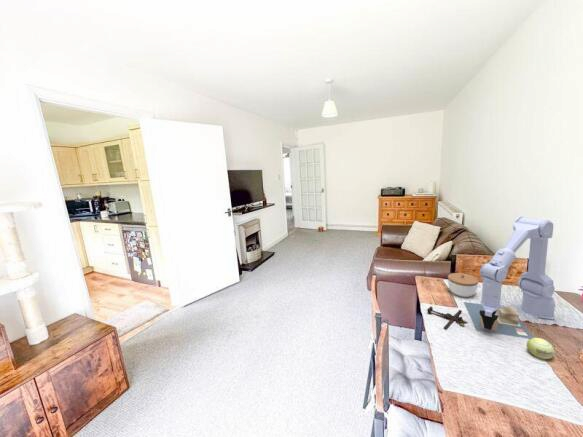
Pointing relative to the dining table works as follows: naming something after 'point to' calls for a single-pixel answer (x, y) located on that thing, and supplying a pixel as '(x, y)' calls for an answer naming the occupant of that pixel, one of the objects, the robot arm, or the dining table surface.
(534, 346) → the tennis ball
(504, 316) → the maple block
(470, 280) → the lidded bowl
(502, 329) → the board
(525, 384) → the dining table surface
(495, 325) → the terracotta block
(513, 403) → the dining table surface
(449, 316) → the bear figurine
